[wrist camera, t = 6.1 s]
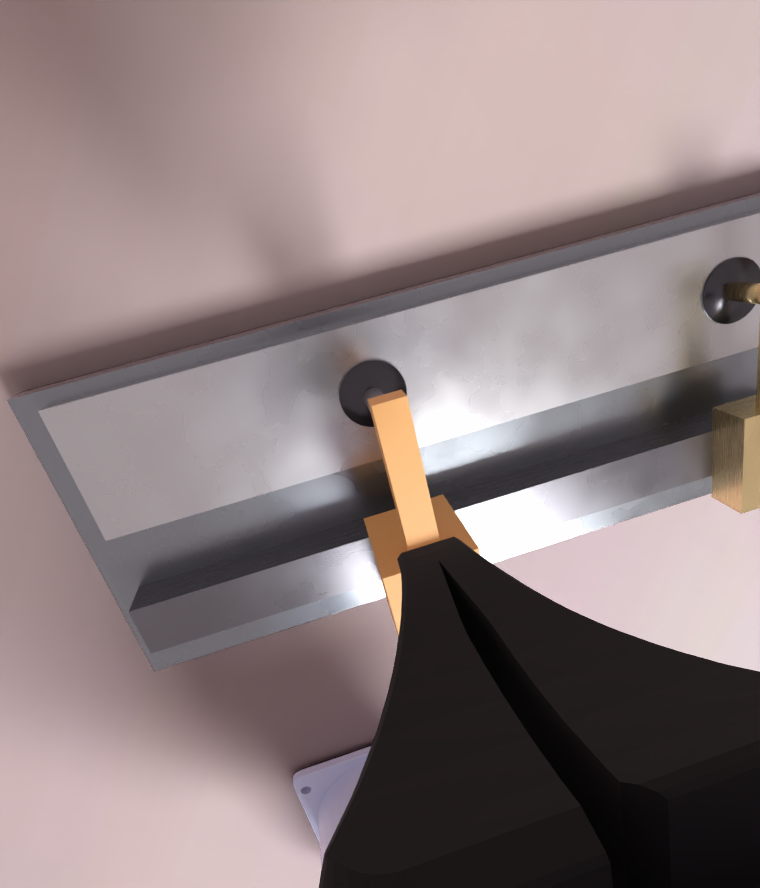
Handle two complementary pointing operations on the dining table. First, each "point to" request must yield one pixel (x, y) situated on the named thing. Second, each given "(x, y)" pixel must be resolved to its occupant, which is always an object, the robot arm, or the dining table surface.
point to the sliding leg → (405, 497)
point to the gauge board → (435, 421)
